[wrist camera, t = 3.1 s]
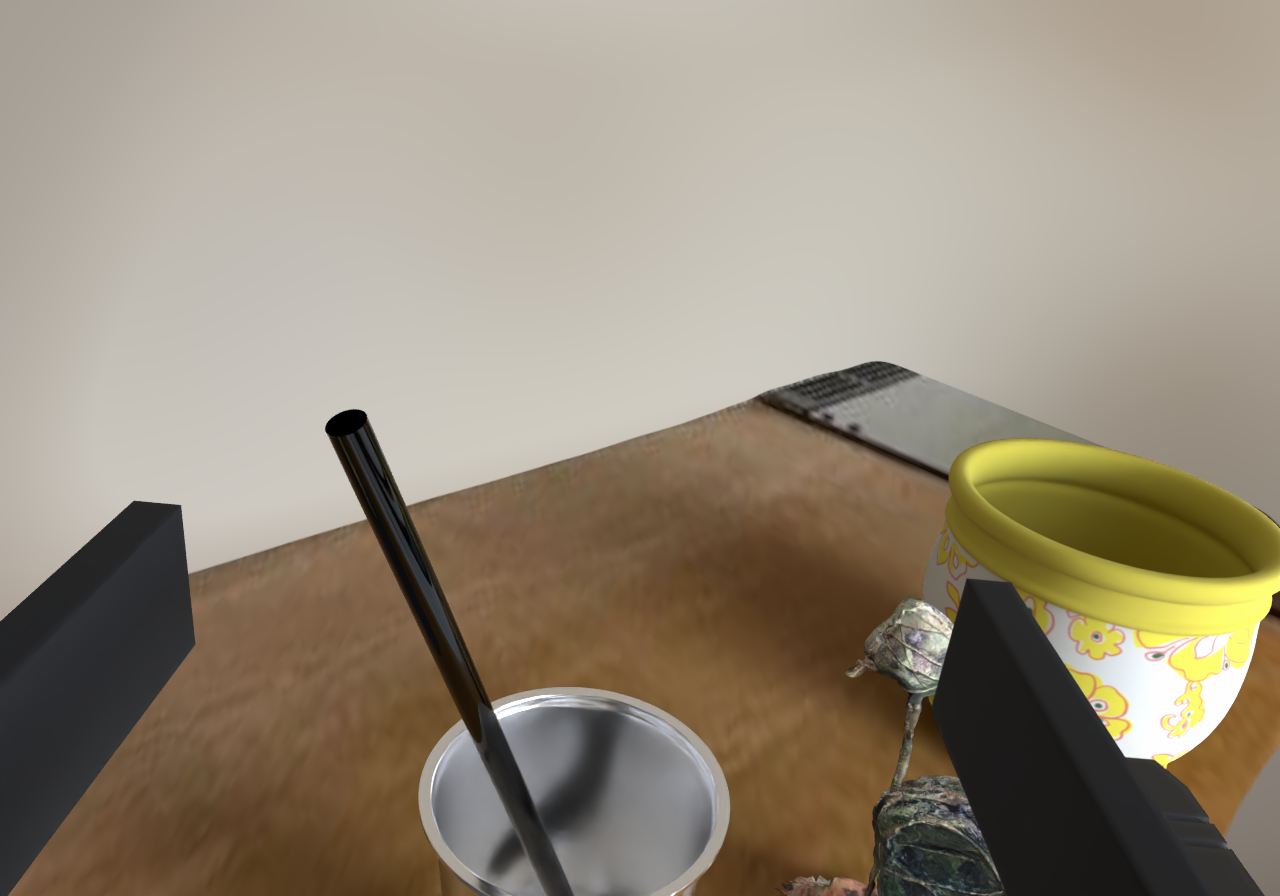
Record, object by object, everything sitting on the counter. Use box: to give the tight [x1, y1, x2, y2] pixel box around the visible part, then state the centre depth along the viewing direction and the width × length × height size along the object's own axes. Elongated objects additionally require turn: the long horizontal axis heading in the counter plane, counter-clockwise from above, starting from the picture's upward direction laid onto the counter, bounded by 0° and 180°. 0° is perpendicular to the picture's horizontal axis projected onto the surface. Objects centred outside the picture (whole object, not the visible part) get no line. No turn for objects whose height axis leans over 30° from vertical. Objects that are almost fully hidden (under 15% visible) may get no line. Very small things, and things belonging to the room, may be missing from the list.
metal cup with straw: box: [325, 409, 730, 896], centre depth 31 cm, size 11×11×30 cm
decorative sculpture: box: [773, 596, 1007, 896], centre depth 40 cm, size 8×11×20 cm
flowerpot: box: [920, 438, 1280, 769], centre depth 57 cm, size 18×18×16 cm
